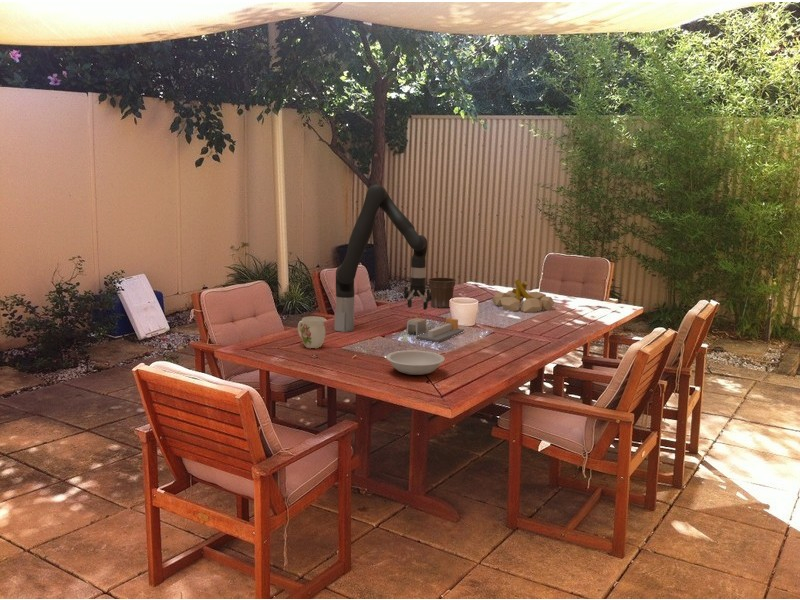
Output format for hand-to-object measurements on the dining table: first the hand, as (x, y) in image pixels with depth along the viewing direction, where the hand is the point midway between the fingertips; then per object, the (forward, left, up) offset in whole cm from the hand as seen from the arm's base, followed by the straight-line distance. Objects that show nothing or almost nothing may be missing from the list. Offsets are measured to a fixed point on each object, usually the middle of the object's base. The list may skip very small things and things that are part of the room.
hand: (417, 308), depth 389 cm
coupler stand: (+3, -12, -13) cm, 18 cm away
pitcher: (-52, +26, -13) cm, 60 cm away
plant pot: (+71, +23, -13) cm, 75 cm away
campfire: (+100, -17, -13) cm, 102 cm away
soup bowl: (-62, -34, -13) cm, 72 cm away
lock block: (0, 0, -13) cm, 13 cm away
